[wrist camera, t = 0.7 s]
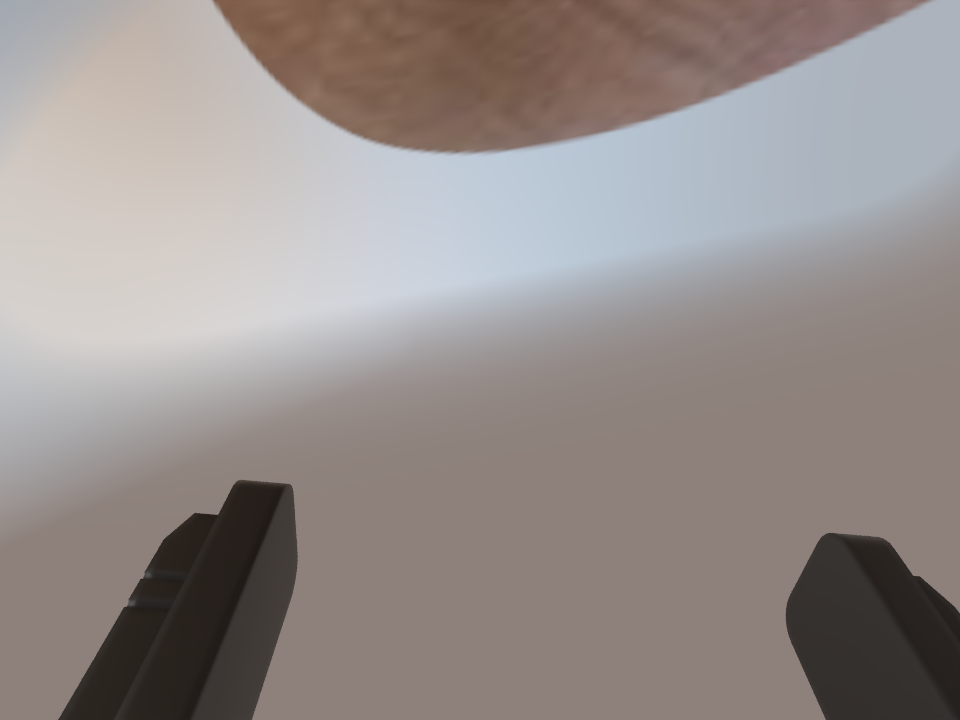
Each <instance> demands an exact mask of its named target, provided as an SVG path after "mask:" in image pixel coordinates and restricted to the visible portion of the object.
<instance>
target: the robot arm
mask: <svg viewBox="0 0 960 720" xmlns="http://www.w3.org/2000/svg"><path fill="white" fill-rule="evenodd" d="M297 557H298V556H297V539H296V524H295V509H294V495H293V488H292V486H291V485H290V484H282V483H269V482H258V481H247V480H239V481H237V482H236V483H235V484H234V486H233V487H232V489H231V491H230V493H229V495H228V497H227V499H226V501H225V503H224V505H223V507H222V509H221V511H220V513H219V514H218V515H210V514H200V513H194V514H193V515H192V516H191V517H190V518H188V519H187V520H186V521H185V522H184V523H183V524H182V525H180V526H179V527H178V528H177V529H175V530H174V531H173V532H172V533H171V534H170V535H168V536H167V537H166V538H165V539H164V540H163V542H162V543H161V545H160V547H159V549H158V551H157V552H156V554H155V555H154V557H153V559H152V561H151V562H150V564H149V566H148V568H147V569H146V571H145V576H144V578H143V579H140V581H139V583H138V585H137V586H136V588H135V590H134V592H133V593H132V595H131V596H130V598H129V603H128V606H127V607H124V608H123V610H122V612H121V614H120V615H119V617H118V619H117V620H116V622H115V624H114V626H113V627H112V629H111V631H110V632H109V634H108V636H107V638H106V639H105V641H104V643H103V644H102V646H101V648H100V649H99V651H98V653H97V655H96V657H95V658H94V660H93V661H92V663H91V665H90V667H89V668H88V670H87V672H86V673H85V675H84V677H83V678H82V680H81V682H80V684H79V686H78V687H77V689H76V690H75V692H74V694H73V696H72V697H71V699H70V701H69V702H68V704H67V706H66V708H65V709H64V711H63V713H62V715H61V716H60V718H59V719H58V720H252V717H253V714H254V711H255V708H256V705H257V702H258V699H259V696H260V693H261V690H262V687H263V683H264V680H265V677H266V674H267V671H268V668H269V665H270V661H271V659H272V656H273V653H274V649H275V646H276V643H277V640H278V637H279V634H280V631H281V628H282V625H283V622H284V619H285V616H286V613H287V610H288V606H289V603H290V600H291V597H292V593H293V589H294V584H295V579H296V572H297ZM786 624H787V630H788V634H789V637H790V640H791V643H792V645H793V647H794V649H795V652H796V654H797V656H798V658H799V660H800V663H801V665H802V667H803V670H804V672H805V674H806V676H807V678H808V681H809V683H810V685H811V687H812V690H813V692H814V694H815V696H816V698H817V701H818V703H819V705H820V707H821V710H822V712H823V714H824V716H825V719H826V720H960V613H959V612H958V611H957V610H956V608H955V607H954V606H953V605H952V604H950V602H948V601H947V600H946V599H945V598H944V597H943V596H941V595H940V594H939V593H938V592H937V591H936V590H935V589H933V588H932V587H931V586H930V585H929V584H928V583H926V582H925V581H924V580H923V579H922V578H921V577H920V576H919V577H918V576H913V575H912V573H911V572H910V571H909V569H908V568H907V566H906V565H905V564H904V562H903V561H902V559H901V558H900V556H899V555H898V554H897V552H896V551H895V549H894V548H893V547H892V545H891V544H890V543H889V542H887V541H886V540H884V539H883V538H880V537H871V536H860V535H859V536H858V535H848V534H837V533H828V534H825V535H824V536H822V537H821V538H820V540H819V541H818V543H817V545H816V547H815V549H814V551H813V553H812V555H811V556H810V558H809V560H808V562H807V564H806V566H805V568H804V570H803V572H802V574H801V576H800V577H799V579H798V581H797V583H796V585H795V587H794V589H793V591H792V593H791V594H790V597H789V599H788V603H787V608H786Z"/></svg>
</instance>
